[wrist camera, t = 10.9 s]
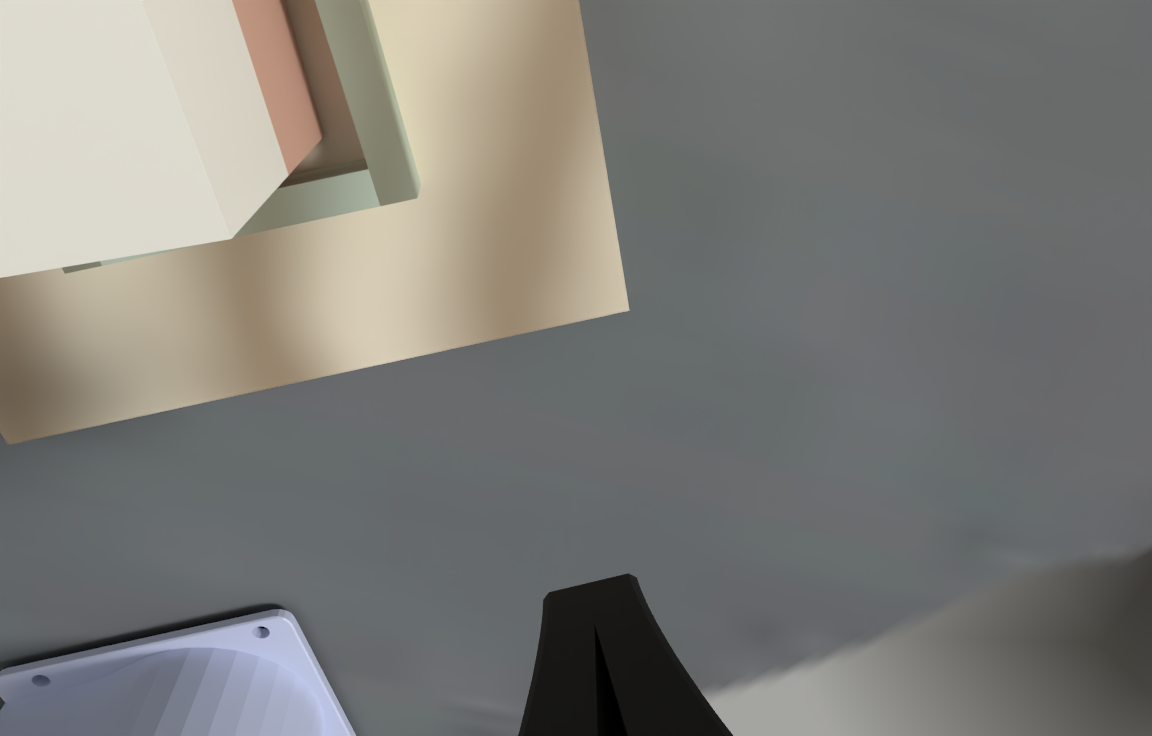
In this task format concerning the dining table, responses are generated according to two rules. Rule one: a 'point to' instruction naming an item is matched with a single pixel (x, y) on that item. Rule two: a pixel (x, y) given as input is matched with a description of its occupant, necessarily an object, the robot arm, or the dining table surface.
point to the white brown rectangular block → (143, 124)
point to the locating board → (352, 227)
